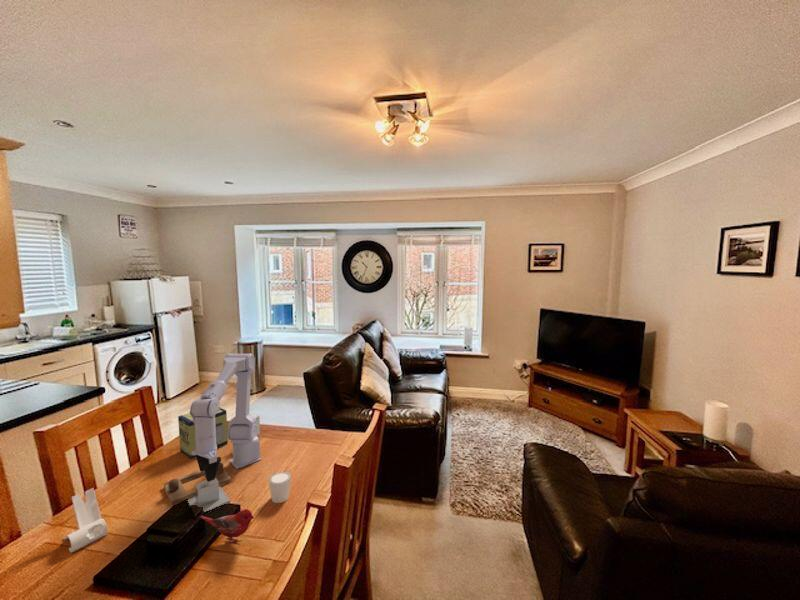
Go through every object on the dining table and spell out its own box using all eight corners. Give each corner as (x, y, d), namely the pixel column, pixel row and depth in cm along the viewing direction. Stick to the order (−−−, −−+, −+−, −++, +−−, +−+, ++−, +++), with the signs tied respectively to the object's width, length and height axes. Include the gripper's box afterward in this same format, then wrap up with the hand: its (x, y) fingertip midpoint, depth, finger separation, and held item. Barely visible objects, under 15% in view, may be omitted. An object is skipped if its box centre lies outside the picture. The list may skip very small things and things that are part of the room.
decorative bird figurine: (252, 549, 91) (251, 514, 91) (195, 539, 94) (193, 506, 94) (258, 540, 94) (257, 507, 93) (203, 532, 97) (201, 499, 97)
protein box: (179, 451, 141) (177, 416, 140) (216, 437, 154) (215, 404, 153) (190, 459, 135) (188, 422, 134) (228, 443, 148) (227, 409, 147)
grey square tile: (220, 488, 117) (220, 486, 117) (230, 502, 110) (230, 500, 110) (187, 502, 110) (187, 499, 110) (195, 518, 103) (195, 515, 103)
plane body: (219, 466, 130) (219, 455, 130) (231, 481, 121) (230, 469, 120) (163, 487, 117) (163, 475, 117) (172, 505, 108) (171, 492, 108)
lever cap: (215, 493, 113) (214, 476, 113) (219, 499, 110) (218, 481, 110) (195, 502, 109) (194, 484, 108) (198, 508, 106) (197, 490, 106)
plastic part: (72, 555, 89) (69, 514, 88) (60, 539, 95) (57, 500, 94) (108, 536, 96) (105, 498, 95) (95, 522, 101) (92, 486, 100)
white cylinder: (295, 493, 115) (294, 473, 114) (282, 506, 108) (281, 485, 108) (278, 488, 117) (278, 469, 116) (264, 501, 110) (264, 481, 110)
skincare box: (252, 447, 145) (251, 420, 144) (243, 446, 145) (242, 419, 144) (260, 440, 151) (259, 415, 150) (252, 439, 151) (251, 414, 150)
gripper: (185, 431, 110) (187, 470, 112) (197, 447, 100) (199, 490, 101) (209, 424, 115) (211, 462, 116) (223, 439, 105) (224, 480, 106)
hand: (207, 475), depth 109 cm, fingers open, 7 cm apart
